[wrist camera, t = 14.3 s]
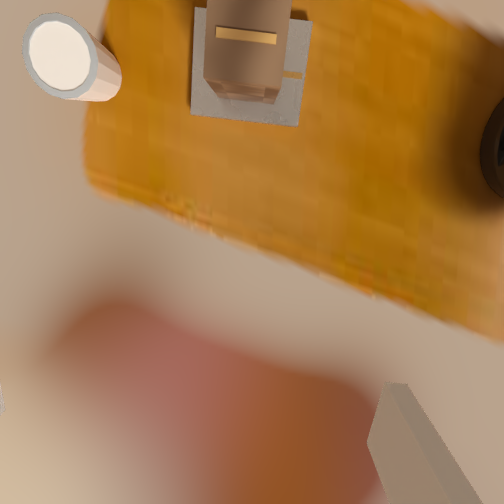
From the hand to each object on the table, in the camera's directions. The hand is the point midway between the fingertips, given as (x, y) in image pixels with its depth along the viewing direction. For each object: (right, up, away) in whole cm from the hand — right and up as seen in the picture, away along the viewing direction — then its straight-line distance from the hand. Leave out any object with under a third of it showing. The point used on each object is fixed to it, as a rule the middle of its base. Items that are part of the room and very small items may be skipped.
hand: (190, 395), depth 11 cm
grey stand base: (+2, +25, +24) cm, 35 cm away
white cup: (-15, +25, +24) cm, 38 cm away
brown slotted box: (+2, +24, +23) cm, 33 cm away
